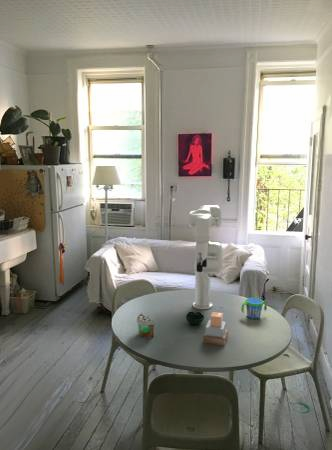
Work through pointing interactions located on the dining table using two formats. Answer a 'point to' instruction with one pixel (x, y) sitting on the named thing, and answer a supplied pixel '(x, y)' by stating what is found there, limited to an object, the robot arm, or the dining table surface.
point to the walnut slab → (215, 339)
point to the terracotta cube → (216, 319)
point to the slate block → (215, 330)
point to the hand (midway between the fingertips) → (201, 269)
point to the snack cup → (254, 307)
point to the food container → (145, 326)
